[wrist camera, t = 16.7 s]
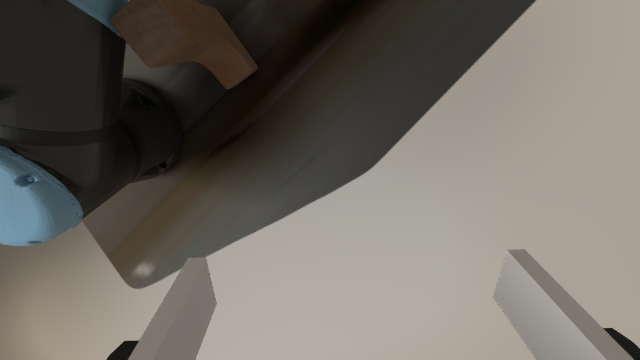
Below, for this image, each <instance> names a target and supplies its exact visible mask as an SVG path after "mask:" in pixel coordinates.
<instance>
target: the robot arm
mask: <svg viewBox="0 0 640 360" xmlns="http://www.w3.org/2000/svg"><path fill="white" fill-rule="evenodd" d="M127 3H128V1H127V0H0V243H1V244H6V245H14V246H31V245H38V244H41V243H44V242H47V241H49V240H52V239H54V238H55V237H57V236H58V235H60V234H62V233H63V232H65V231H67V230H68V229H70V228H73V227H75V226H77V225H78V224H79V223H80V222H81V220H82V219H83V218H84V217H86V216H87V215H88V214H90V213H91V212H92V211H94V210H95V209H96V208H98V207H99V206H100V205H101V204H103V203H104V202H105V201H107V200H108V199H109V198H111V197H112V196H113V195H115V194H116V193H117V192H118V191H120V190H121V189H122V188H124V187H125V186H126V185H127V184H129V183H134V182H139V181H143V180H148V179H151V178H154V177H156V176H158V175H160V174H162V173H163V172H165V171H166V170H167V169H168V168H169V167H171V166H172V165H173V164H174V163H175V161H176V160H177V158H178V157H179V155H180V152H181V149H182V143H183V135H182V129H181V125H180V122H179V120H178V117H177V115H176V114H175V112H174V110H173V109H172V107H171V106H170V105H169V103H168V102H167V101H166V100H165V99H164V98H163V97H162V96H161V95H160V94H158V93H157V92H156V91H154V90H153V89H151V88H150V87H148V86H146V85H144V84H142V83H140V82H137V81H134V80H130V79H124V78H122V77H123V67H124V57H125V47H126V41H125V40H124V39H123V38H122V36H121V35H120V34H119V33H118V32H117V31H116V29H115V28H114V27H113V26H112V25H111V23H110V20H111V18H112V17H113V16H114V15H115V14H116V13H117V12H118V11H119V10H121V9H122V8H123V7H124V6H125V5H126V4H127ZM493 298H494V299H495V300H496V302H497V303H498V305H499V306H500V308H501V309H502V311H503V312H504V313H505V315H506V316H507V318H508V319H509V321H510V322H511V324H512V325H513V327H514V328H515V329H516V331H517V332H518V334H519V335H520V337H521V338H522V340H523V341H524V342H525V344H526V345H527V347H528V348H529V350H530V351H531V353H532V354H533V356H534V357H535V359H536V360H640V348H639V347H637V346H636V345H635V344H634V343H633V342H632V341H631V340H629V339H628V338H626V337H625V336H623V335H622V334H620V333H619V332H617V331H616V330H614V329H613V328H602V327H601V326H600V325H599V324H598V323H597V322H596V321H595V320H594V319H593V318H592V317H591V316H590V315H589V314H588V313H587V312H586V311H585V310H584V309H583V308H582V307H581V306H580V305H579V304H578V303H577V302H576V301H575V300H574V299H573V298H572V297H571V296H570V295H569V294H568V293H567V292H566V291H565V290H564V289H563V288H562V287H561V286H560V285H559V284H558V283H557V282H556V281H555V280H554V279H553V278H552V277H551V276H550V275H549V274H548V273H547V272H546V271H545V270H544V269H543V268H542V267H541V266H540V265H539V264H538V262H537V261H536V260H535V259H534V258H533V257H532V256H531V255H530V254H528V252H527V251H525V250H524V249H523V250H507V251H506V255H505V258H504V261H503V265H502V268H501V272H500V276H499V278H498V282H497V285H496V289H495V292H494V295H493ZM216 304H217V303H216V299H215V295H214V291H213V286H212V282H211V278H210V273H209V269H208V265H207V260H206V258H188V259H187V261H186V263H185V264H184V266H183V268H182V270H181V271H180V273H179V275H178V276H177V278H176V280H175V281H174V283H173V285H172V286H171V288H170V290H169V291H168V293H167V295H166V296H165V298H164V300H163V302H162V303H161V305H160V307H159V308H158V310H157V312H156V313H155V315H154V317H153V318H152V320H151V322H150V324H149V325H148V327H147V328H146V330H145V332H144V334H143V336H142V337H141V339H140V340H139V341H124V342H123V343H122V344H121V345H120V346H119V347H118V348H117V349H116V350H114V352H112V353H111V354H110V355H109V357H108V358H107V360H195V359H196V356H197V354H198V351H199V348H200V346H201V343H202V341H203V338H204V335H205V333H206V330H207V327H208V325H209V322H210V320H211V317H212V315H213V312H214V309H215V307H216Z"/></svg>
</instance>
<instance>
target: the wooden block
mask: <svg viewBox="0 0 640 360" xmlns="http://www.w3.org/2000/svg"><path fill="white" fill-rule="evenodd" d="M110 23H111V25H112V26H113V27H114V28H115V29H116V31H117V32H118V33H119V34H120V35H121V36H122V38H123V39H124V40H125V41H126V42H127V43H128V45H129V46H130V47H131V48H132V49H133V50H134V51H135V53H136V54H137V55H138V56H139V57H140V58H141V60H142V61H143V62H144V63H145V64H146V65H147V66H148V67H149V68H155V67H161V66H167V65H172V64H178V63H184V62H190V61H193V62H197V63H200V64H202V65H203V66H204V67H206V68H207V69H208V70H209V71H211V72H212V73H213V75H214V76H215V77H216V78H217V79H218V80H219V81H220V83H221V84H222V85H223V86H224V87H225V88H226V89H227V90H228V89H231V88H233V87H235V86H236V85H238V84H239V83H240V82H242V81H243V80H244V79H246V78H247V77H248V76H250V75H251V74H252V73H254V72H255V71H256V70H257V69H258V67H257V65H256V63H255V62H254V60H253V59H252V58H251V56H250V55H249V53H248V52H247V51H246V49H245V48H244V46H243V45H242V44H241V42H240V41H239V39H238V38H237V37H236V35H235V34H234V32H233V31H232V30H231V28H230V27H229V25H228V24H227V23H226V21H225V20H224V18H223V17H222V16H221V14H220V13H219V11H218V10H217V9H216V8H213V7H210V6H207V5H204V4H201V3H197V2H194V1H191V0H130V1H129V2H128V3H127V4H126V5H125V6H124V7H123V8H122V9H121V10H119V11H118V12H117V13H116V14H115V15H114V16H113V17H112V18H111V20H110Z"/></svg>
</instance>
